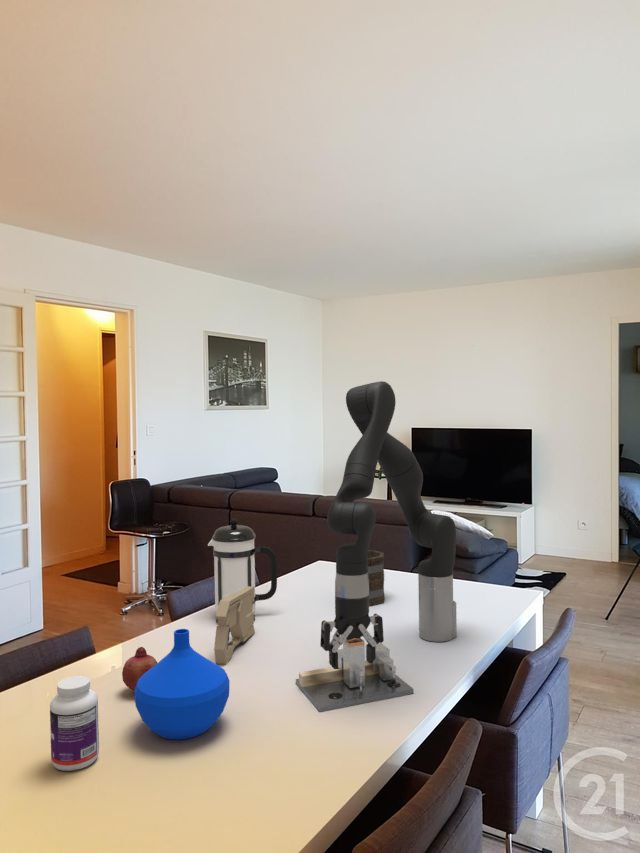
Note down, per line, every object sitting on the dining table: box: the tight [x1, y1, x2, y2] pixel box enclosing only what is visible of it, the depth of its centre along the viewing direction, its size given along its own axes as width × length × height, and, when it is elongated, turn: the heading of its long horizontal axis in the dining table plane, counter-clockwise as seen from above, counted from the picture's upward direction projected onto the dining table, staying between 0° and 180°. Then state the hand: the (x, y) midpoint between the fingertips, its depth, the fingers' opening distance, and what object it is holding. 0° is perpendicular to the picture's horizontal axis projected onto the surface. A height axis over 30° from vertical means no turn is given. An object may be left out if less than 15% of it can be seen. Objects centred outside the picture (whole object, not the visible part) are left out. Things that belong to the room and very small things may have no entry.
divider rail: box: [298, 660, 379, 687], centre depth 149 cm, size 22×2×2 cm, turn 111°
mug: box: [368, 549, 386, 608], centre depth 208 cm, size 20×14×15 cm
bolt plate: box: [295, 674, 414, 713], centre depth 145 cm, size 22×15×1 cm
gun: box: [213, 586, 256, 666], centre depth 171 cm, size 24×3×15 cm, turn 168°
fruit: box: [121, 646, 158, 691], centre depth 145 cm, size 8×8×10 cm
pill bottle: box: [49, 675, 100, 772], centre depth 116 cm, size 8×8×14 cm
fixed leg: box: [365, 642, 397, 684], centre depth 149 cm, size 4×11×5 cm, turn 21°
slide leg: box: [337, 638, 366, 690], centre depth 146 cm, size 4×11×10 cm, turn 21°
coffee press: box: [207, 517, 278, 624], centre depth 196 cm, size 17×16×30 cm
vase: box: [133, 628, 230, 741], centre depth 128 cm, size 18×18×19 cm
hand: (352, 665), depth 144 cm, fingers open, 8 cm apart
